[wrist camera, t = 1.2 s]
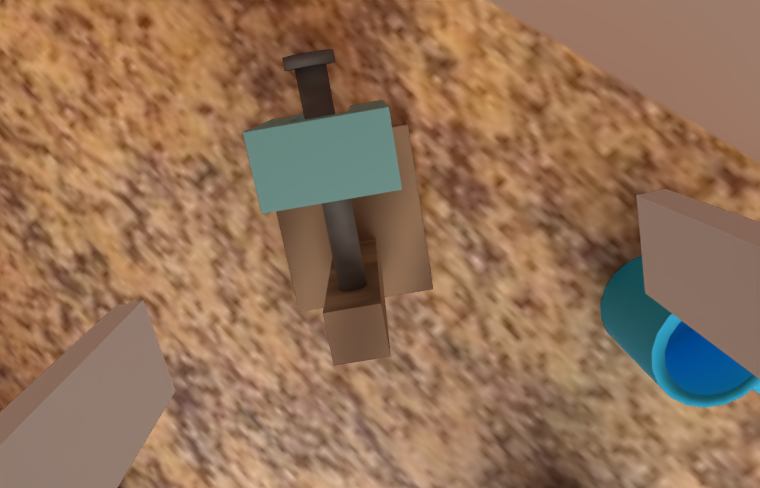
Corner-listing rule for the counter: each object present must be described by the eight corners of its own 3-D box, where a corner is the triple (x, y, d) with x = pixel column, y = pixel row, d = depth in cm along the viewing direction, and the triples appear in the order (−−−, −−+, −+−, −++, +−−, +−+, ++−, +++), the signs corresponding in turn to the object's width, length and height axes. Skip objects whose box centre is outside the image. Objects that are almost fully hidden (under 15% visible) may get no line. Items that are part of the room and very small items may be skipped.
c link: (285, 182, 37) (261, 213, 28) (271, 119, 36) (242, 132, 27) (392, 163, 37) (402, 189, 28) (382, 100, 36) (388, 106, 27)
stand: (300, 305, 44) (274, 401, 31) (248, 73, 39) (191, 70, 26) (431, 283, 43) (460, 370, 30) (394, 47, 39) (411, 31, 26)
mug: (578, 314, 45) (624, 365, 37) (650, 231, 43) (715, 265, 35) (689, 393, 47) (754, 456, 39) (761, 317, 45) (845, 367, 37)
